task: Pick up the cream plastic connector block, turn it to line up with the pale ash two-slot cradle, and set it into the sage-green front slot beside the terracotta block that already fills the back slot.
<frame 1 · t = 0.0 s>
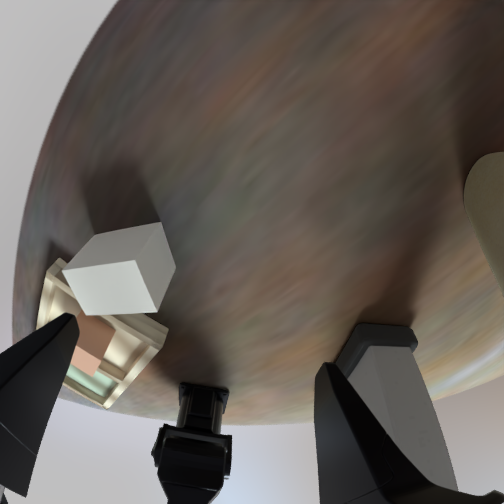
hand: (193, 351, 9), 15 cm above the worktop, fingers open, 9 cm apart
terracotta block: (94, 329, 29), point 1 cm above the worktop, touching slot cradle
slot cradle: (87, 345, 32), on the worktop
plant pot: (486, 190, 20), on the worktop
container: (359, 363, 32), on the worktop
connector block: (134, 250, 25), on the worktop
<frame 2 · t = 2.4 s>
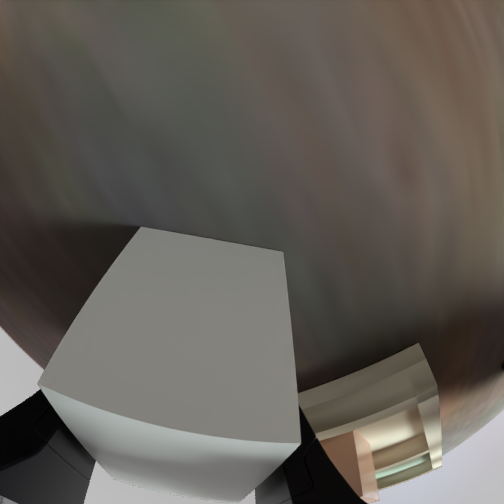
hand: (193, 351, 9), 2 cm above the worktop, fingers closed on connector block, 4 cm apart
terracotta block: (328, 446, 15), point 1 cm above the worktop, touching slot cradle
slot cradle: (350, 451, 18), on the worktop
connector block: (200, 320, 11), on the worktop, touching gripper
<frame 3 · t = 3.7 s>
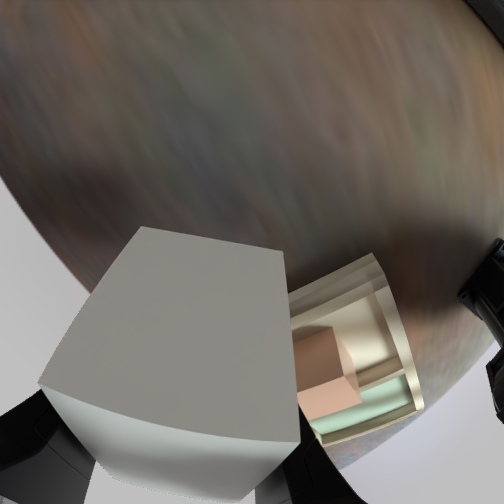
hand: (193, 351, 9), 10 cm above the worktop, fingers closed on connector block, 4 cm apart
terracotta block: (316, 354, 22), point 1 cm above the worktop, touching slot cradle
slot cradle: (338, 375, 25), on the worktop
connector block: (200, 320, 11), point 8 cm above the worktop, touching gripper
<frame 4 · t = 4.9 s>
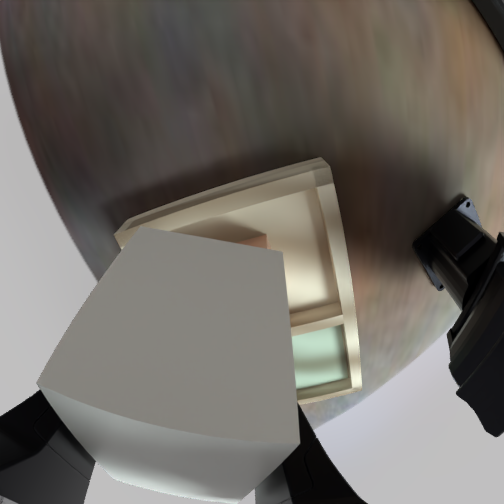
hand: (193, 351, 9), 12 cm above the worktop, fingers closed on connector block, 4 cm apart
slot cradle: (266, 315, 24), on the worktop
connector block: (200, 320, 11), point 10 cm above the worktop, touching gripper
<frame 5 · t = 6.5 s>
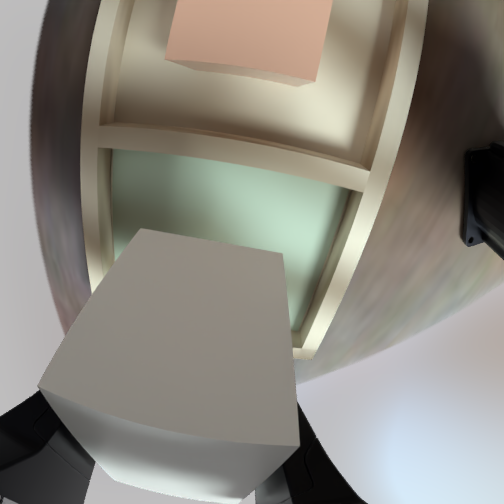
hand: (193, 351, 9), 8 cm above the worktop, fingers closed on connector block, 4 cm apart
terracotta block: (255, 31, 10), point 1 cm above the worktop, touching slot cradle
slot cradle: (234, 141, 13), on the worktop
connector block: (200, 322, 11), point 6 cm above the worktop, touching gripper
when the fingers open (4 cm above the worktop, at t = 7.6 s): connector block stays where it is, resting on slot cradle.
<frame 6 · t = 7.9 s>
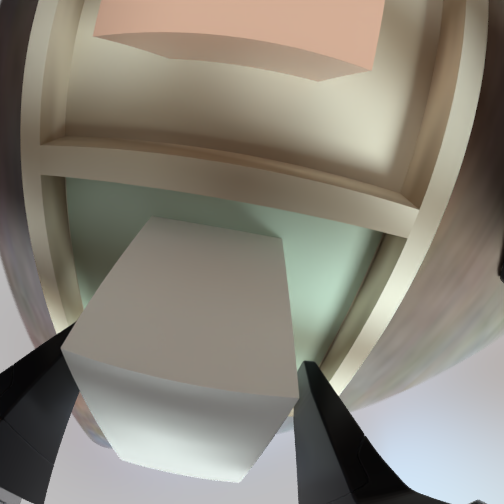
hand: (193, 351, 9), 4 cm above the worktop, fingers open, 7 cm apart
terracotta block: (257, 2, 6), point 1 cm above the worktop, touching slot cradle
slot cradle: (227, 159, 10), on the worktop
connector block: (205, 305, 11), point 1 cm above the worktop, touching slot cradle
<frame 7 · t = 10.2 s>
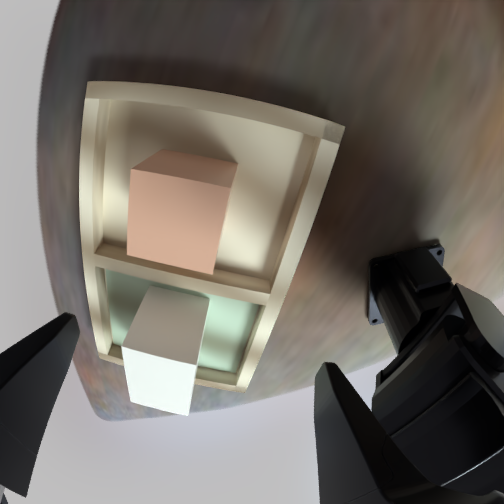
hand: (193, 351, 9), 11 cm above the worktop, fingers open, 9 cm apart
terracotta block: (192, 191, 17), point 1 cm above the worktop, touching slot cradle
slot cradle: (185, 259, 20), on the worktop
connector block: (176, 325, 22), point 1 cm above the worktop, touching slot cradle
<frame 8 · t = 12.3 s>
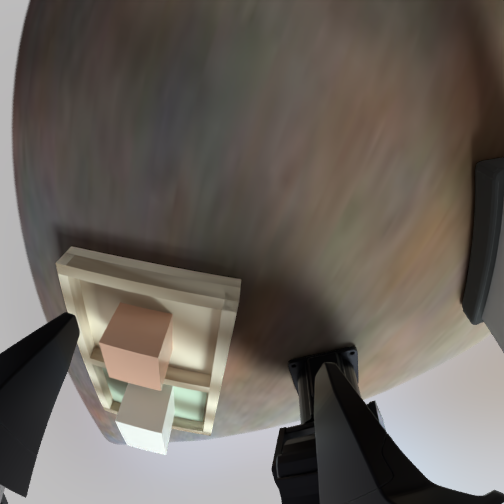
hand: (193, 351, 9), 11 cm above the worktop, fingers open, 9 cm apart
terracotta block: (147, 327, 23), point 1 cm above the worktop, touching slot cradle
slot cradle: (153, 357, 26), on the worktop
container: (496, 234, 19), on the worktop
connector block: (154, 394, 28), point 1 cm above the worktop, touching slot cradle
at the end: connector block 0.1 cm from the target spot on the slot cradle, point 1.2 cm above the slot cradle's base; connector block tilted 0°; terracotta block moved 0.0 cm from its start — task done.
